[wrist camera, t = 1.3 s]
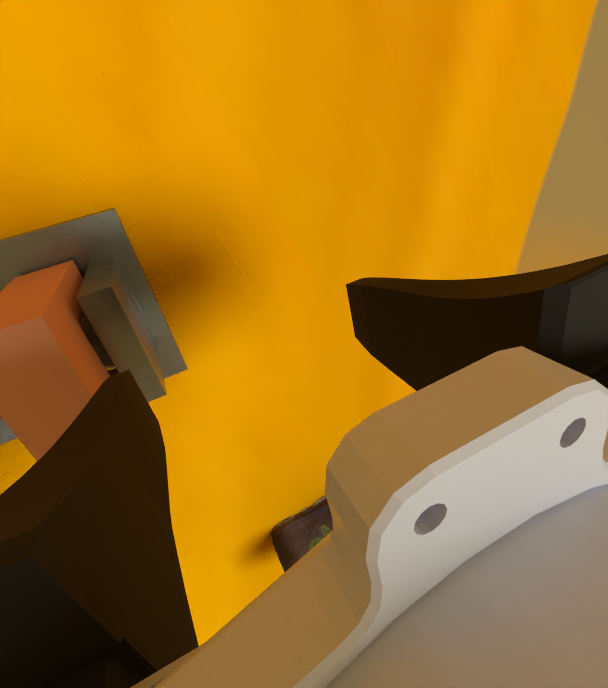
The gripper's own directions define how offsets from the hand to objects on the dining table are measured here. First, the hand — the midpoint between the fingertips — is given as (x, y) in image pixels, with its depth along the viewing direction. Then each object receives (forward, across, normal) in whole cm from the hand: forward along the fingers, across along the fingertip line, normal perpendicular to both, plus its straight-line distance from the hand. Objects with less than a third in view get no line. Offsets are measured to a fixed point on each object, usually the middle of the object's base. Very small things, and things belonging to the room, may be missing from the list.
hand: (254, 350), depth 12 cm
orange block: (+10, +6, 0) cm, 12 cm away
